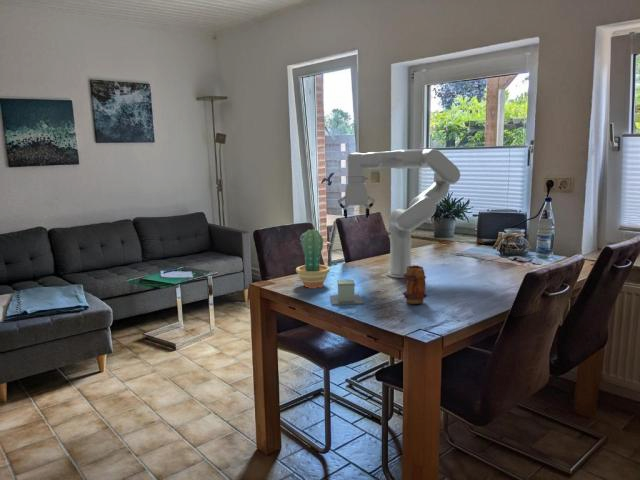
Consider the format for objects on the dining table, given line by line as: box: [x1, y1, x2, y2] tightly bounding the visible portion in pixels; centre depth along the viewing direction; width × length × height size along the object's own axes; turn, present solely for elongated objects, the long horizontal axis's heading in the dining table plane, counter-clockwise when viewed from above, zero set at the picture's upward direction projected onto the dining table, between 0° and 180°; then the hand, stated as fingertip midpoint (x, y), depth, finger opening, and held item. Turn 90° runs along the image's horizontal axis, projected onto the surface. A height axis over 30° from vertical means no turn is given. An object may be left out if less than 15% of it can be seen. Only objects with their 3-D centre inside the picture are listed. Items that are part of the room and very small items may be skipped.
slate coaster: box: [329, 294, 364, 306], centre depth 198 cm, size 12×12×1 cm
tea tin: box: [336, 279, 356, 302], centre depth 198 cm, size 6×6×7 cm
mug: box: [402, 265, 428, 305], centre depth 189 cm, size 15×8×15 cm, turn 5°
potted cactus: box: [295, 228, 331, 289], centre depth 220 cm, size 15×15×25 cm
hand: (356, 217), depth 231 cm, fingers open, 9 cm apart
